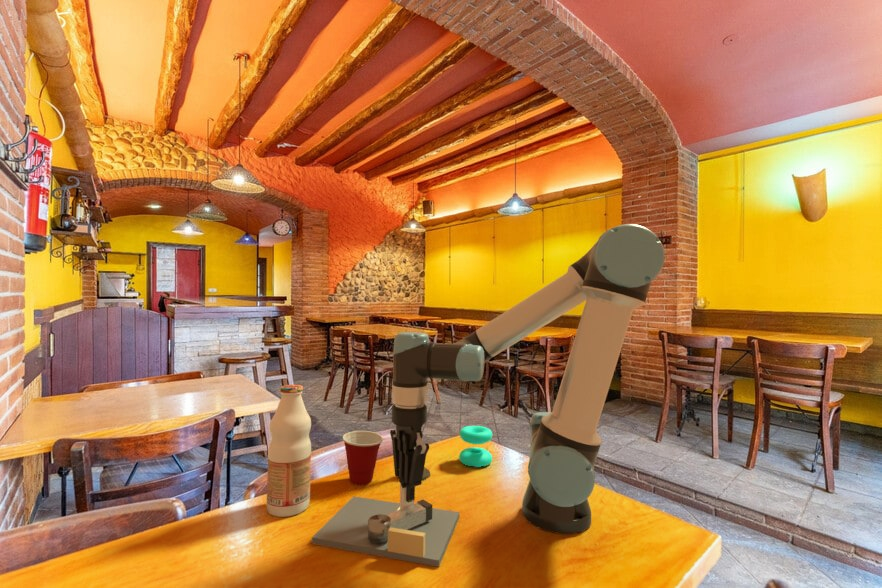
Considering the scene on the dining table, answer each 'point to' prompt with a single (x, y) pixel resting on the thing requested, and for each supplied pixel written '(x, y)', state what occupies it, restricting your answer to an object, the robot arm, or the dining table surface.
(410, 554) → the plate
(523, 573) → the dining table surface
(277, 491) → the fruit juice
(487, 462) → the donuts
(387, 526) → the lock bar
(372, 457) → the plastic cup
